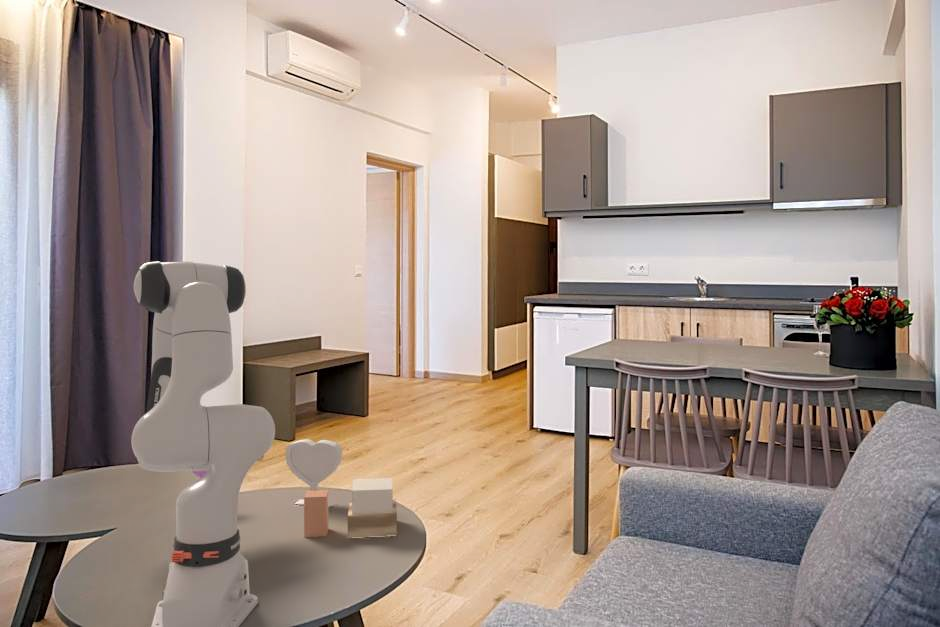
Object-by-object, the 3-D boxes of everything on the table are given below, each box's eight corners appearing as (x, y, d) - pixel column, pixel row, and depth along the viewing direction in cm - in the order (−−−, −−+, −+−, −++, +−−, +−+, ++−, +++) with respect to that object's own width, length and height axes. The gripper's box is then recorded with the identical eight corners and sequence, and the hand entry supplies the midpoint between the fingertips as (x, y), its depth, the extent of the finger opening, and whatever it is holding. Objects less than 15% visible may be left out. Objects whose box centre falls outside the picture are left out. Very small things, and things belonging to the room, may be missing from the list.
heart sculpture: (284, 504, 196) (284, 441, 196) (291, 499, 201) (290, 438, 201) (337, 507, 195) (337, 443, 194) (343, 501, 200) (342, 439, 199)
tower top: (392, 513, 173) (392, 489, 172) (351, 514, 171) (351, 490, 171) (392, 500, 183) (392, 477, 182) (353, 501, 181) (353, 479, 181)
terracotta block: (326, 536, 172) (326, 496, 172) (304, 537, 172) (304, 497, 171) (328, 528, 178) (328, 490, 177) (306, 529, 177) (306, 490, 176)
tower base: (396, 538, 172) (396, 514, 172) (347, 540, 171) (347, 515, 170) (396, 521, 184) (395, 499, 184) (350, 523, 182) (350, 500, 182)
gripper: (197, 450, 160) (258, 449, 162) (218, 430, 180) (272, 429, 182) (197, 477, 160) (258, 475, 162) (218, 454, 181) (273, 453, 182)
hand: (266, 451), depth 172 cm, fingers open, 8 cm apart
